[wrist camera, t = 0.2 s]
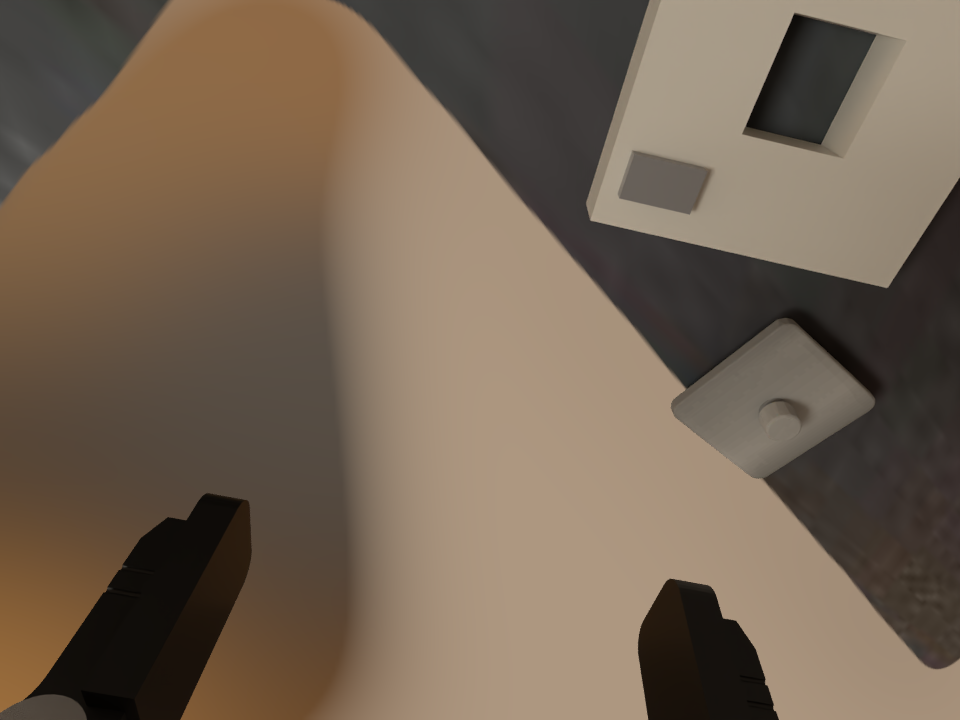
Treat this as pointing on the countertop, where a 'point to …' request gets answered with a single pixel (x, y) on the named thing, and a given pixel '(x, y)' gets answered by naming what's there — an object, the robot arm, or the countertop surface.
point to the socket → (780, 159)
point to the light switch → (772, 400)
